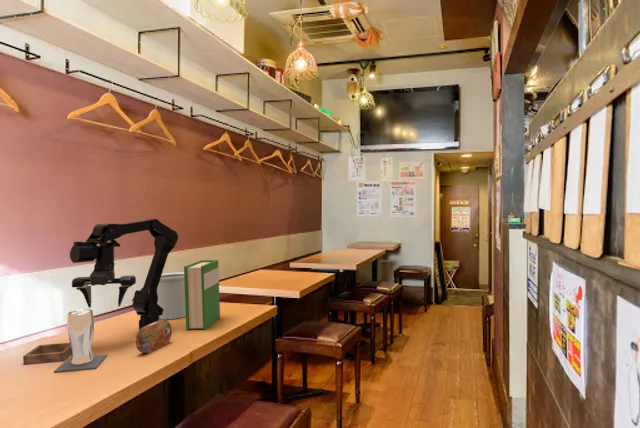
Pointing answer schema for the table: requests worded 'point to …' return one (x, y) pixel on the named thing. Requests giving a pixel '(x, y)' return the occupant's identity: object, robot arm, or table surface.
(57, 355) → the brown square tray
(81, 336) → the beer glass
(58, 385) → the table surface
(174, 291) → the utensil holder
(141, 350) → the tin
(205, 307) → the hardback book
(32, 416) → the table surface
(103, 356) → the rubber mat
